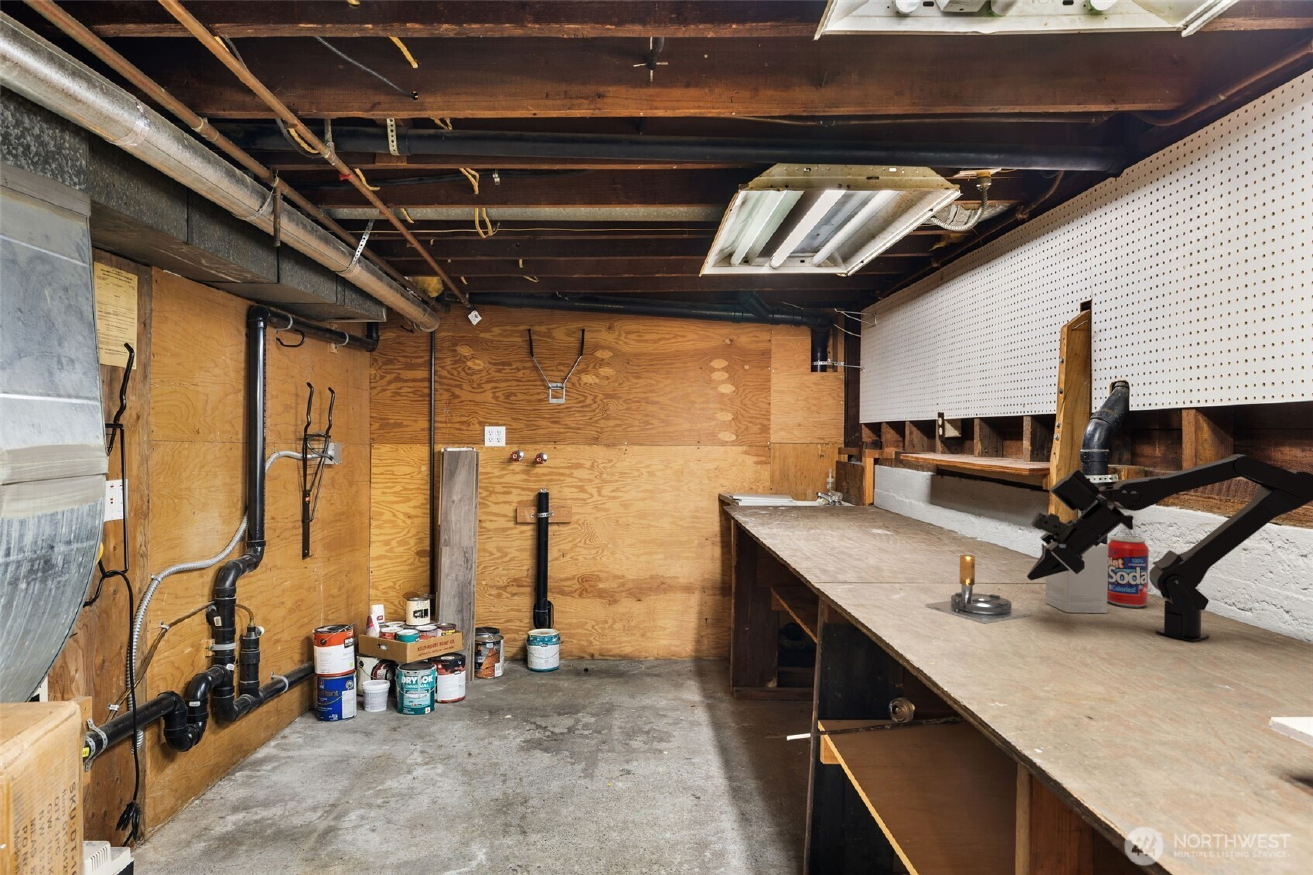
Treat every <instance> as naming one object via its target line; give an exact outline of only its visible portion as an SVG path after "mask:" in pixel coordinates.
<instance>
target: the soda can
mask: <svg viewBox="0 0 1313 875" xmlns="http://www.w3.org/2000/svg"><path fill="white" fill-rule="evenodd" d="M1106 545H1108V580H1107V602H1110V603H1111V604H1113V605H1115V606H1118V607H1124V608H1129V609H1130V608H1132V609H1138V608H1142V607H1144V606H1146V605H1147V604H1148V600H1149V599H1148V598H1149V597H1148V596H1149V559H1150V558H1149V551H1150V550H1149V547H1148V545H1147V544H1146V540H1145V539H1141V538H1135V537H1127V536H1126V537H1124V536H1115V537H1114V536H1113V537H1112V536H1111V537H1110V541H1109V542H1108V543H1107V544H1106Z"/></svg>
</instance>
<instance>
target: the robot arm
mask: <svg viewBox="0 0 1313 875" xmlns="http://www.w3.org/2000/svg"><path fill="white" fill-rule="evenodd" d="M1237 478H1243V479H1245V480H1247V481H1250V482H1252V483H1254V484H1256V485H1258V486H1259V488H1258V489H1257V490H1256V492H1255V495H1254V496H1253V498H1252V499H1251V500H1250V501H1249V503H1247V504H1246V505H1245V506H1243V507H1242V508H1241V509H1239V510H1237V512H1236V513H1234V514H1233V515H1231V516H1230V517H1229V518H1228V519H1227V520H1225V521H1224V522H1223V523H1221V524H1220V525H1219V526H1218V527H1216V528H1215V529H1214V530H1212V531H1211V532H1209V534H1207V535H1206V536H1204V538H1203V539H1200V541H1199V542H1197V543H1196V544H1194V545H1193V546H1192V547H1191V548H1189V549H1188V550H1186V551H1184V552H1181V553H1179V554H1178V553H1176V552H1175V551H1173V550H1168V551H1167V552H1166V553H1165V554H1164V555H1163V556H1162V557H1161V558H1159V559H1158V560H1156V561H1152V562H1151V564H1153V565H1154V566H1153V567H1152V568H1151V569H1150V570H1149V571H1148V580H1149V581H1150V583H1151V585H1152V586H1153V587H1154V588H1155V589H1157V591H1158V592H1160V595H1161V597H1162V598H1163V599H1165V600H1164V607H1163V608H1164V612H1163V613H1164V614H1163V615H1164V618H1163V619H1164V620H1163V628H1160V629H1156V630H1155V632H1154V633H1155V634H1158V635H1163V636H1167V637H1170V638H1176V639H1179V640H1183V641H1187V642H1191V643H1192V642H1197V641H1201V640H1206V639H1209V638H1210V634H1208V633H1207V634H1206V633H1204V632H1203V633H1202V611H1204V610H1206V608H1207V605H1208V604H1209V602H1210V601H1209V598H1207V597H1206V596H1205V595H1204V594H1203V593H1202V592H1201V591H1199V590H1198V589H1197V587H1198V586H1199V585H1200V584H1201V583H1202V582H1203V580H1204V578H1205V576H1206V574H1207V572H1208V571H1209V570H1210V569H1211V567H1212V566H1214V565H1215V564H1216V563H1218V562H1219V561H1220V560H1221V559H1223V558H1224V557H1225V556H1227V555H1228V554H1230V553H1231V552H1232V551H1233V550H1235V549H1236V548H1237V547H1239V545H1240V546H1241V544H1242V543H1244V542H1245V541H1247V540H1248V539H1249V538H1250V537H1251V536H1253V535H1254V534H1256V533H1257V532H1258V531H1259V530H1261V529H1263V527H1265V526H1266V525H1267V524H1269V523H1270V522H1271V521H1272V520H1274V519H1275V518H1277V517H1279V516H1282V515H1285V514H1287V513H1291V512H1292V511H1296V510H1298V509H1300V508H1302V507H1304V506H1306V505H1308V504H1310V503H1311V502H1313V473H1310V472H1306V471H1301V470H1294V469H1285V468H1282V467H1279V466H1276V465H1273V464H1271V463H1267V462H1264V461H1261V460H1259V459H1257V458H1255V457H1254V456H1252V455H1247V454H1240V453H1239V454H1238V453H1237V454H1232V455H1230V456H1228V457H1225V458H1222V459H1218V460H1215V461H1211V462H1207V463H1204V464H1200V465H1196V466H1194V467H1192V466H1191V467H1190V468H1185V469H1182V470H1178V471H1174V472H1171V473H1167V474H1163V475H1157V476H1145V477H1137V478H1127V479H1121V480H1119V481H1117V482H1115V483H1114V484H1113V485H1109V486H1104V485H1103V486H1099V487H1098V486H1096V484H1094V482H1092V481H1091V480H1090V479H1088V478H1087V476H1086V475H1085V474H1084V473H1083V472H1082V471H1081V470H1080V469H1078V468H1077V469H1074V470H1073V471H1072V472H1070V473H1068V474H1067V475H1066V476H1065V477H1063V478H1060V479H1058V480H1057V482H1056V483H1055V484H1054V485H1053V486H1051V488H1050V489H1049V492H1050V493H1051V494H1053V495H1054V497H1055V498H1057V499H1058V500H1059V501H1061V503H1062V504H1063V505H1064V506H1066V507H1067V508H1068V509H1069V510H1070V511H1071V512H1073V511H1075V510H1078V511H1079V512H1082V511H1084V512H1083V513H1082V514H1080V515H1079V516H1078V517H1077V518H1076V519H1075V520H1074V519H1069V520H1068V521H1066V522H1064V521H1062V520H1061V519H1060V516H1059V515H1057V514H1054V513H1052V512H1050V513H1048V514H1047V513H1044V512H1042V511H1041V510H1038V511H1037V512H1036V514H1035V515H1034V517H1033V519H1032V521H1031V523H1030V525H1031V526H1032V527H1033V528H1036V529H1037V530H1042V531H1044V532H1045V533H1044V534H1043V535H1041V536H1040V540H1041V541H1043V543H1041V555H1040V557H1039V558H1038V560H1036V563H1035V564H1034V565H1033V566H1032V568H1031V569H1030V571H1029V572H1028V573H1027V575H1026V577H1027V579H1028V580H1029V581H1034V580H1038V579H1042V578H1046V576H1049V575H1053V574H1057V573H1061V572H1065V571H1069V568H1070V569H1071V570H1072V571H1073V572H1074V573H1076V574H1078V573H1079V572H1081V571H1082V570H1083V569H1084V568H1085V562H1084V561H1083V560H1082V558H1083V556H1082V555H1083V554H1084V553H1085V552H1087V551H1088V550H1089V549H1090V548H1091V547H1093V546H1096V547H1097V546H1098V545H1099V544H1100V543H1101V542H1100V541H1101V540H1103V539H1104V538H1105V537H1106V536H1107V535H1109V534H1110V533H1111V532H1112V531H1114V530H1115V529H1116V528H1117V527H1119V526H1120V525H1122V526H1124V527H1125V529H1128V530H1130V531H1132V530H1133V529H1134V523H1133V520H1134V515H1131V514H1125V513H1124V512H1122V511H1121V509H1119V508H1118V507H1117V506H1119V507H1121V508H1124V509H1126V510H1128V511H1133V512H1135V511H1142V510H1144V509H1146V508H1149V507H1151V506H1153V505H1156V504H1158V503H1160V502H1162V501H1164V500H1165V499H1167V498H1169V497H1171V496H1173V495H1177V494H1180V493H1183V492H1188V491H1192V490H1195V489H1200V488H1204V487H1206V486H1211V485H1214V484H1218V483H1222V482H1226V481H1229V480H1232V479H1233V480H1234V479H1237ZM1098 497H1100V498H1102V499H1104V500H1106V501H1109V502H1114V503H1115V504H1116V505H1117V506H1116V505H1114V504H1111V505H1109V506H1108V505H1107V504H1106V503H1104V502H1103V501H1102V500H1101V499H1100V498H1098ZM1094 502H1095V503H1094ZM1091 505H1092V506H1091ZM1086 509H1087V510H1086ZM1085 510H1086V511H1085ZM1044 543H1045V544H1047V545H1045V544H1044ZM1067 566H1068V567H1069V568H1068V567H1067Z"/></svg>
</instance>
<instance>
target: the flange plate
mask: <svg viewBox="0 0 1313 875" xmlns="http://www.w3.org/2000/svg"><path fill="white" fill-rule="evenodd" d="M924 606H925V607H926V608H928V609H934V610H937V611H941V612H944V613H946V614H950V615H955V616H956V617H961V618H964V619H967V620H971V621H974V622H978V623H981V624H990V623H995V622H1000V621H1006V620H1007V619H1008V620H1013V619H1019V618H1024V616H1025V617H1031V616H1033V613H1032V612H1030V611H1026V610H1023V609H1019V608H1015V607H1012V611H1011V612H1010V613H1006V614H981V613H973V612H968V611H963V610H960V609H959V606H960V600H959V599H955V600H954V607H953V606H952V605H951V599H950V600H945V601H938V602H932V603H930V602H929V603H925V605H924ZM1008 620H1007V621H1008Z"/></svg>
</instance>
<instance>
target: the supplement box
mask: <svg viewBox="0 0 1313 875" xmlns="http://www.w3.org/2000/svg"><path fill="white" fill-rule="evenodd" d="M1099 543H1100V544H1099V545H1098V546H1097V547H1096V546H1093V547H1091V548H1090V549H1089V550H1088V551H1087V552H1085V553H1084V554H1083V555H1082V556H1083V558H1082V560H1083V561H1084V562H1085V568H1084V569H1083V570H1082V571H1081V572H1079V573H1078V574H1076V573H1074V572H1073V571H1072V570H1071V569H1070V568H1069V567H1068V566H1067V567H1068V568H1069V571H1065V572H1061V573H1057V574H1053V575H1049V576H1046V577H1045V603H1046V604H1047V605H1049V606H1051V607H1054V608H1056V609H1059V610H1060V611H1063V612H1065V613H1072V614H1073V613H1078V614H1079V613H1081V614H1083V613H1084V614H1107V613H1108V600H1107V580H1108V545H1107V544H1104V543H1101V542H1099ZM1045 544H1046V543H1045ZM1046 545H1047V544H1046ZM1046 545H1045V546H1046Z"/></svg>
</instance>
